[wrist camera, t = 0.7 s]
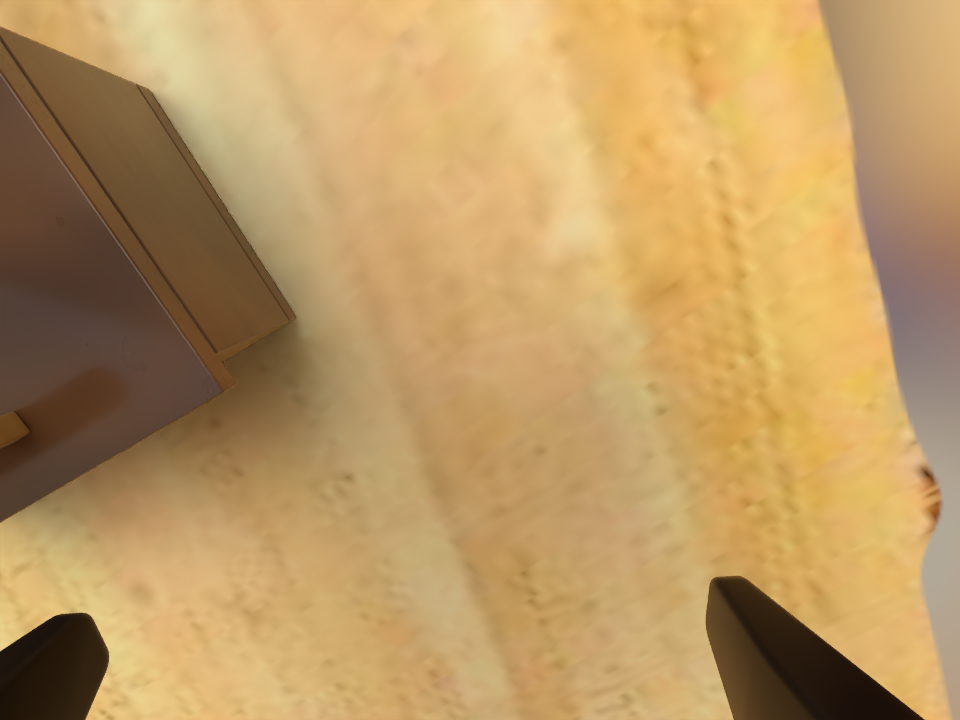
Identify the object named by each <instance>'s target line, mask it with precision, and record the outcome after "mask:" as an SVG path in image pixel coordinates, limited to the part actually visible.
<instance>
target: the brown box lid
mask: <svg viewBox="0 0 960 720" xmlns="http://www.w3.org/2000/svg"><path fill="white" fill-rule="evenodd" d="M235 386H236V382H235V381H234V379H233V378H232V376H231V375H230V374H229V372H228V371H227V369H226V368H225V366H224V365H223V363H222V362H221V360H220V359H219V358H218V356H217V355H216V353H215V352H214V350H213V349H212V347H211V346H210V344H209V343H208V342H207V340H206V339H205V337H204V336H203V334H202V333H201V331H200V330H199V329H198V327H197V326H196V324H195V323H194V321H193V320H192V318H191V317H190V315H189V314H188V313H187V311H186V310H185V308H184V307H183V305H182V304H181V302H180V301H179V300H178V298H177V297H176V295H175V294H174V292H173V291H172V289H171V288H170V286H169V285H168V284H167V282H166V281H165V279H164V278H163V276H162V275H161V273H160V272H159V270H158V269H157V268H156V266H155V265H154V263H153V262H152V260H151V259H150V257H149V256H148V255H147V253H146V252H145V250H144V249H143V247H142V246H141V244H140V243H139V241H138V240H137V239H136V237H135V236H134V234H133V233H132V231H131V230H130V228H129V227H128V225H127V224H126V223H125V221H124V220H123V218H122V217H121V215H120V214H119V212H118V211H117V210H116V208H115V207H114V205H113V204H112V202H111V201H110V199H109V198H108V196H107V195H106V194H105V192H104V191H103V189H102V188H101V186H100V185H99V183H98V182H97V181H96V179H95V178H94V176H93V175H92V173H91V172H90V170H89V169H88V167H87V166H86V165H85V163H84V162H83V160H82V159H81V157H80V156H79V154H78V153H77V151H76V150H75V149H74V147H73V146H72V144H71V143H70V141H69V140H68V138H67V137H66V136H65V134H64V133H63V131H62V130H61V128H60V127H59V125H58V124H57V122H56V121H55V120H54V118H53V117H52V115H51V114H50V112H49V111H48V109H47V108H46V107H45V105H44V104H43V102H42V101H41V99H40V98H39V96H38V95H37V93H36V92H35V91H34V89H33V88H32V86H31V85H30V83H29V82H28V80H27V79H26V77H25V76H24V75H23V73H22V72H21V70H20V69H19V67H18V66H17V64H16V63H15V62H14V60H13V59H12V57H11V56H10V54H9V53H8V51H7V50H6V48H5V47H4V46H3V44H2V43H1V41H0V523H1V522H3V521H4V520H6V519H8V518H9V517H11V516H13V515H15V514H16V513H18V512H20V511H22V510H23V509H25V508H27V507H28V506H30V505H32V504H34V503H35V502H37V501H39V500H41V499H42V498H44V497H46V496H47V495H49V494H51V493H53V492H54V491H56V490H58V489H59V488H61V487H63V486H65V485H66V484H68V483H70V482H72V481H73V480H75V479H77V478H78V477H80V476H82V475H84V474H85V473H87V472H89V471H91V470H92V469H94V468H96V467H97V466H99V465H101V464H103V463H104V462H106V461H108V460H110V459H111V458H113V457H115V456H116V455H118V454H120V453H122V452H123V451H125V450H127V449H129V448H130V447H132V446H134V445H135V444H137V443H139V442H141V441H142V440H144V439H146V438H147V437H149V436H151V435H153V434H154V433H156V432H158V431H160V430H161V429H163V428H165V427H166V426H168V425H170V424H172V423H173V422H175V421H177V420H179V419H180V418H182V417H184V416H185V415H187V414H189V413H191V412H192V411H194V410H196V409H198V408H199V407H201V406H203V405H204V404H206V403H208V402H210V401H211V400H213V399H215V398H217V397H218V396H220V395H222V394H223V393H225V392H227V391H228V390H230V389H232V388H233V387H235Z"/></svg>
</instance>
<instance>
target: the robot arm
mask: <svg viewBox="0 0 960 720" xmlns="http://www.w3.org/2000/svg"><path fill="white" fill-rule="evenodd" d="M706 630H707V635H708V638H709V642H710V645H711V648H712V651H713V654H714V658H715V661H716V664H717V667H718V670H719V674H720V677H721V680H722V683H723V686H724V689H725V693H726V696H727V699H728V702H729V705H730V709H731V712H732V715H733V718H734V720H924V719H923V718H922V717H920V716H919V715H918V714H917V713H915V712H914V711H913V710H912V709H910V708H909V707H908V706H907V705H905V704H904V703H903V702H901V701H900V700H899V699H898V698H896V697H895V696H894V695H893V694H891V693H890V692H889V691H888V690H886V689H885V688H884V687H882V686H881V685H880V684H879V683H877V682H876V681H875V680H874V679H872V678H871V677H870V676H869V675H867V674H866V673H865V672H863V671H862V670H861V669H860V668H858V667H857V666H856V665H855V664H853V663H852V662H851V661H850V660H848V659H847V658H846V657H844V656H843V655H842V654H841V653H839V652H838V651H837V650H836V649H834V648H833V647H832V646H831V645H829V644H828V643H827V642H825V641H824V640H823V639H822V638H820V637H819V636H818V635H817V634H815V633H814V632H813V631H812V630H810V629H809V628H808V627H806V626H805V625H804V624H803V623H801V622H800V621H799V620H798V619H796V618H795V617H794V616H793V615H791V614H790V613H789V612H787V611H786V610H785V609H784V608H782V607H781V606H780V605H779V604H777V603H776V602H775V601H774V600H772V599H771V598H770V597H768V596H767V595H766V594H765V593H763V592H762V591H761V590H760V589H758V588H757V587H756V586H755V585H753V584H752V583H751V582H750V581H748V580H747V579H745V578H743V577H741V576H726V577H715V578H713V579H712V580H711V582H710V586H709V595H708V603H707V611H706ZM108 663H109V651H108V648H107V646H106V644H105V642H104V640H103V638H102V636H101V634H100V632H99V630H98V628H97V626H96V624H95V622H94V620H93V618H92V617H91V616H90V615H88V614H87V613H70V614H60V615H56V616H54V617H52V618H50V619H49V620H47V621H46V622H44V623H43V624H41V625H40V626H38V627H37V628H35V629H34V630H32V631H31V632H29V633H28V634H26V635H24V636H23V637H21V638H20V639H18V640H17V641H15V642H14V643H12V644H11V645H9V646H8V647H6V648H5V649H3V650H2V651H0V720H85V719H86V717H87V715H88V712H89V710H90V708H91V705H92V703H93V701H94V698H95V696H96V694H97V691H98V689H99V687H100V684H101V682H102V680H103V677H104V675H105V673H106V670H107V667H108Z"/></svg>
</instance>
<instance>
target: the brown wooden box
mask: <svg viewBox="0 0 960 720" xmlns="http://www.w3.org/2000/svg"><path fill="white" fill-rule="evenodd" d="M0 41H1V43H2V44H3V46H4V47H5V48H6V50H7V51H8V53H9V54H10V56H11V57H12V59H13V60H14V62H15V63H16V64H17V66H18V67H19V69H20V70H21V72H22V73H23V75H24V76H25V77H26V79H27V80H28V82H29V83H30V85H31V86H32V88H33V89H34V91H35V92H36V93H37V95H38V96H39V98H40V99H41V101H42V102H43V104H44V105H45V107H46V108H47V109H48V111H49V112H50V114H51V115H52V117H53V118H54V120H55V121H56V122H57V124H58V125H59V127H60V128H61V130H62V131H63V133H64V134H65V136H66V137H67V138H68V140H69V141H70V143H71V144H72V146H73V147H74V149H75V150H76V151H77V153H78V154H79V156H80V157H81V159H82V160H83V162H84V163H85V165H86V166H87V167H88V169H89V170H90V172H91V173H92V175H93V176H94V178H95V179H96V181H97V182H98V183H99V185H100V186H101V188H102V189H103V191H104V192H105V194H106V195H107V196H108V198H109V199H110V201H111V202H112V204H113V205H114V207H115V208H116V210H117V211H118V212H119V214H120V215H121V217H122V218H123V220H124V221H125V223H126V224H127V225H128V227H129V228H130V230H131V231H132V233H133V234H134V236H135V237H136V239H137V240H138V241H139V243H140V244H141V246H142V247H143V249H144V250H145V252H146V253H147V255H148V256H149V257H150V259H151V260H152V262H153V263H154V265H155V266H156V268H157V269H158V270H159V272H160V273H161V275H162V276H163V278H164V279H165V281H166V282H167V284H168V285H169V286H170V288H171V289H172V291H173V292H174V294H175V295H176V297H177V298H178V300H179V301H180V302H181V304H182V305H183V307H184V308H185V310H186V311H187V313H188V314H189V315H190V317H191V318H192V320H193V321H194V323H195V324H196V326H197V327H198V329H199V330H200V331H201V333H202V334H203V336H204V337H205V339H206V340H207V342H208V343H209V344H210V346H211V347H212V349H213V350H214V352H215V353H216V355H217V356H218V358H219V359H220V360H221V362H223V361H224V360H226V359H228V358H229V357H231V356H233V355H234V354H236V353H238V352H240V351H241V350H243V349H245V348H246V347H248V346H250V345H251V344H253V343H255V342H257V341H258V340H260V339H262V338H263V337H265V336H267V335H268V334H270V333H272V332H274V331H275V330H277V329H279V328H280V327H282V326H284V325H285V324H287V323H289V322H291V321H292V320H294V319H295V318H296V316H295V315H294V313H293V312H292V310H291V308H290V307H289V305H288V304H287V302H286V301H285V299H284V298H283V296H282V295H281V293H280V291H279V290H278V288H277V287H276V285H275V284H274V282H273V281H272V279H271V277H270V276H269V274H268V273H267V271H266V270H265V268H264V267H263V265H262V264H261V262H260V260H259V259H258V257H257V256H256V254H255V253H254V251H253V250H252V248H251V247H250V245H249V243H248V242H247V240H246V239H245V237H244V236H243V234H242V233H241V231H240V230H239V228H238V226H237V225H236V223H235V222H234V220H233V219H232V217H231V216H230V214H229V212H228V211H227V209H226V208H225V206H224V205H223V203H222V202H221V200H220V199H219V197H218V195H217V194H216V192H215V191H214V189H213V188H212V186H211V185H210V183H209V182H208V180H207V178H206V177H205V175H204V174H203V172H202V171H201V169H200V168H199V166H198V165H197V163H196V161H195V160H194V158H193V157H192V155H191V154H190V152H189V151H188V149H187V147H186V146H185V144H184V143H183V141H182V140H181V138H180V137H179V135H178V134H177V132H176V130H175V129H174V127H173V126H172V124H171V123H170V121H169V120H168V118H167V117H166V115H165V113H164V112H163V110H162V109H161V107H160V106H159V104H158V103H157V101H156V100H155V98H154V96H153V95H152V93H151V92H150V90H149V89H147V88H145V87H142V86H140V85H137V84H135V83H133V82H131V81H128V80H126V79H123V78H121V77H119V76H116V75H114V74H112V73H109V72H107V71H104V70H102V69H100V68H97V67H95V66H93V65H90V64H88V63H86V62H83V61H81V60H78V59H76V58H74V57H71V56H69V55H67V54H64V53H62V52H59V51H57V50H55V49H52V48H50V47H48V46H45V45H43V44H41V43H38V42H36V41H33V40H31V39H29V38H26V37H24V36H22V35H19V34H17V33H14V32H12V31H10V30H7V29H5V28H3V27H0Z"/></svg>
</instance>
